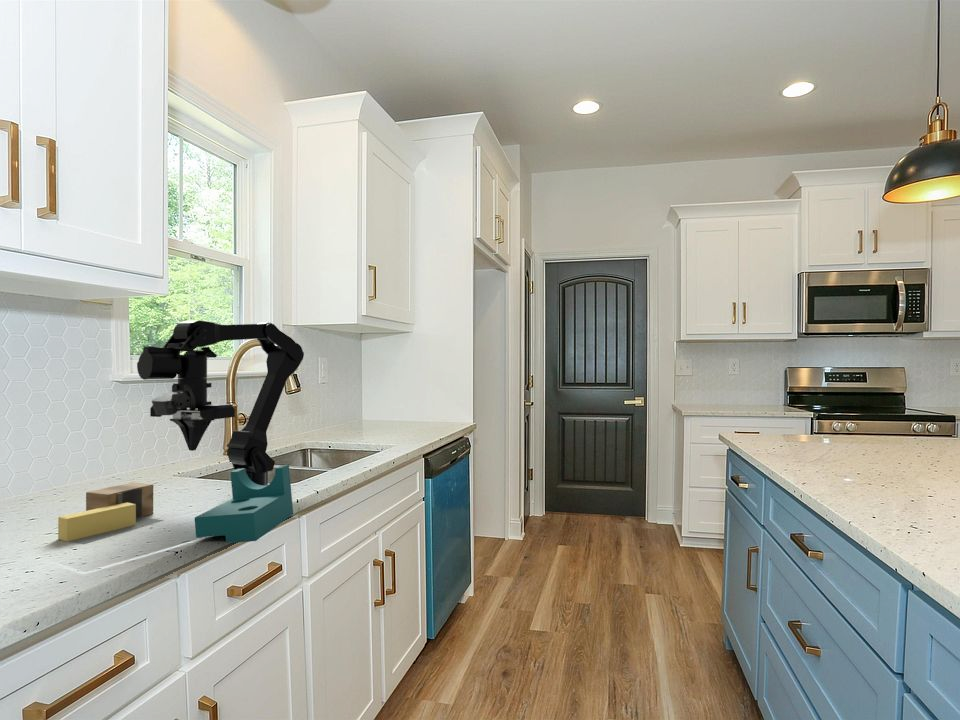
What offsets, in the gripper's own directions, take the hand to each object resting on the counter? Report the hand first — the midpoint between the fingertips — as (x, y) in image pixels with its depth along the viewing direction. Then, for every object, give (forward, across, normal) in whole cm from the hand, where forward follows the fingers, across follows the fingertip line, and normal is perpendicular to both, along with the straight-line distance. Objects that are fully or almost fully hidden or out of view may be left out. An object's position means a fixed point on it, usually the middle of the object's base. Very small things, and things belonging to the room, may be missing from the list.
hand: (192, 450), depth 124 cm
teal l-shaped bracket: (+13, +21, -6) cm, 26 cm away
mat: (+13, -1, -17) cm, 21 cm away
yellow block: (+11, -2, -13) cm, 17 cm away
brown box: (+13, -7, -11) cm, 19 cm away
